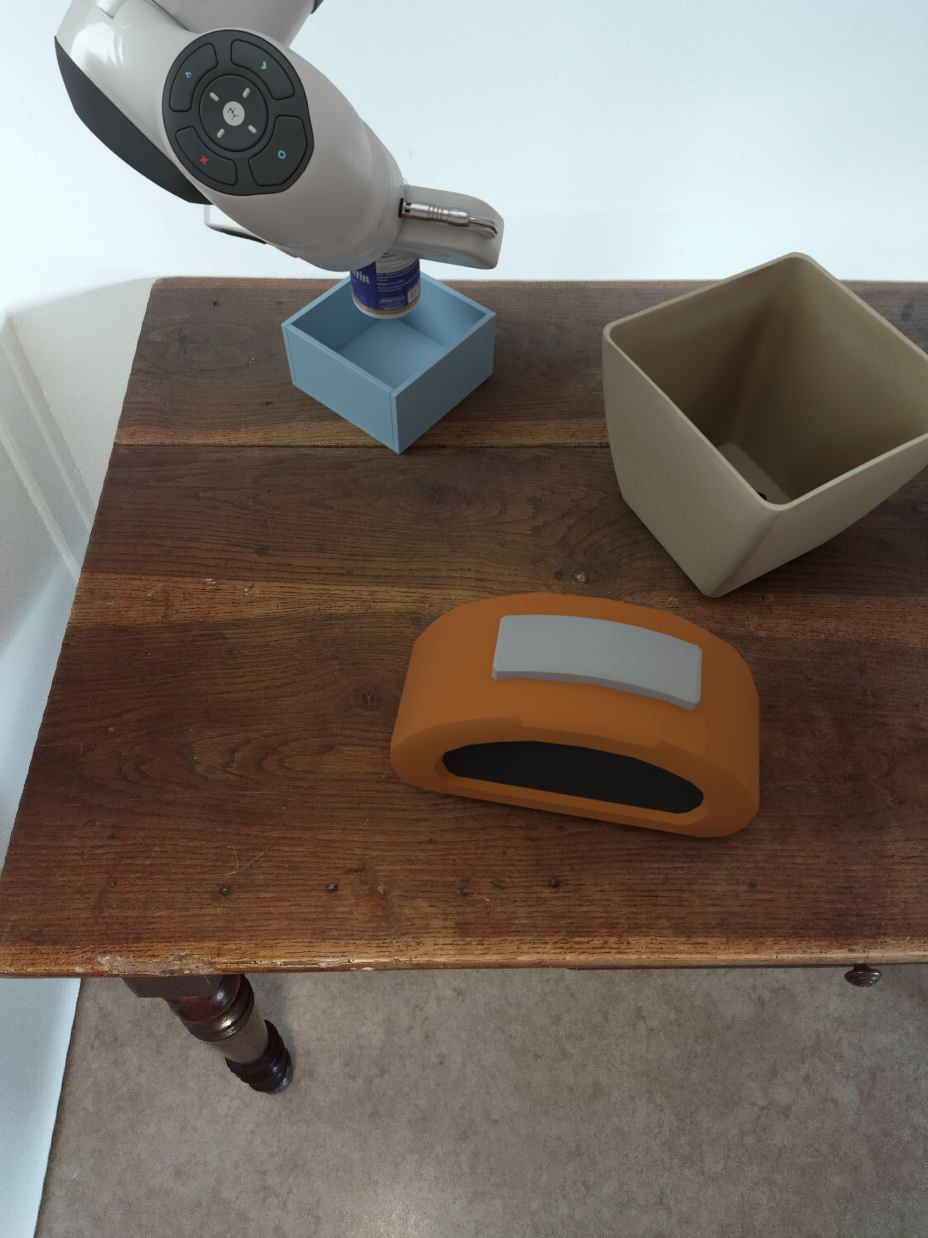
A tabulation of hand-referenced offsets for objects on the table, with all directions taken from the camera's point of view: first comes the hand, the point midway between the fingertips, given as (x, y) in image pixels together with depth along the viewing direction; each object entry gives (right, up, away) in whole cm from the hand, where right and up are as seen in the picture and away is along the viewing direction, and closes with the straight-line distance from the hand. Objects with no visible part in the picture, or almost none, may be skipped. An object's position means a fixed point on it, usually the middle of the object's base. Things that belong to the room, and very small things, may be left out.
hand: (384, 237), depth 70 cm
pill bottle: (0, -3, +4) cm, 6 cm away
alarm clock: (+13, -40, -7) cm, 43 cm away
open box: (0, -8, +13) cm, 15 cm away
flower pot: (+28, -22, +5) cm, 36 cm away
